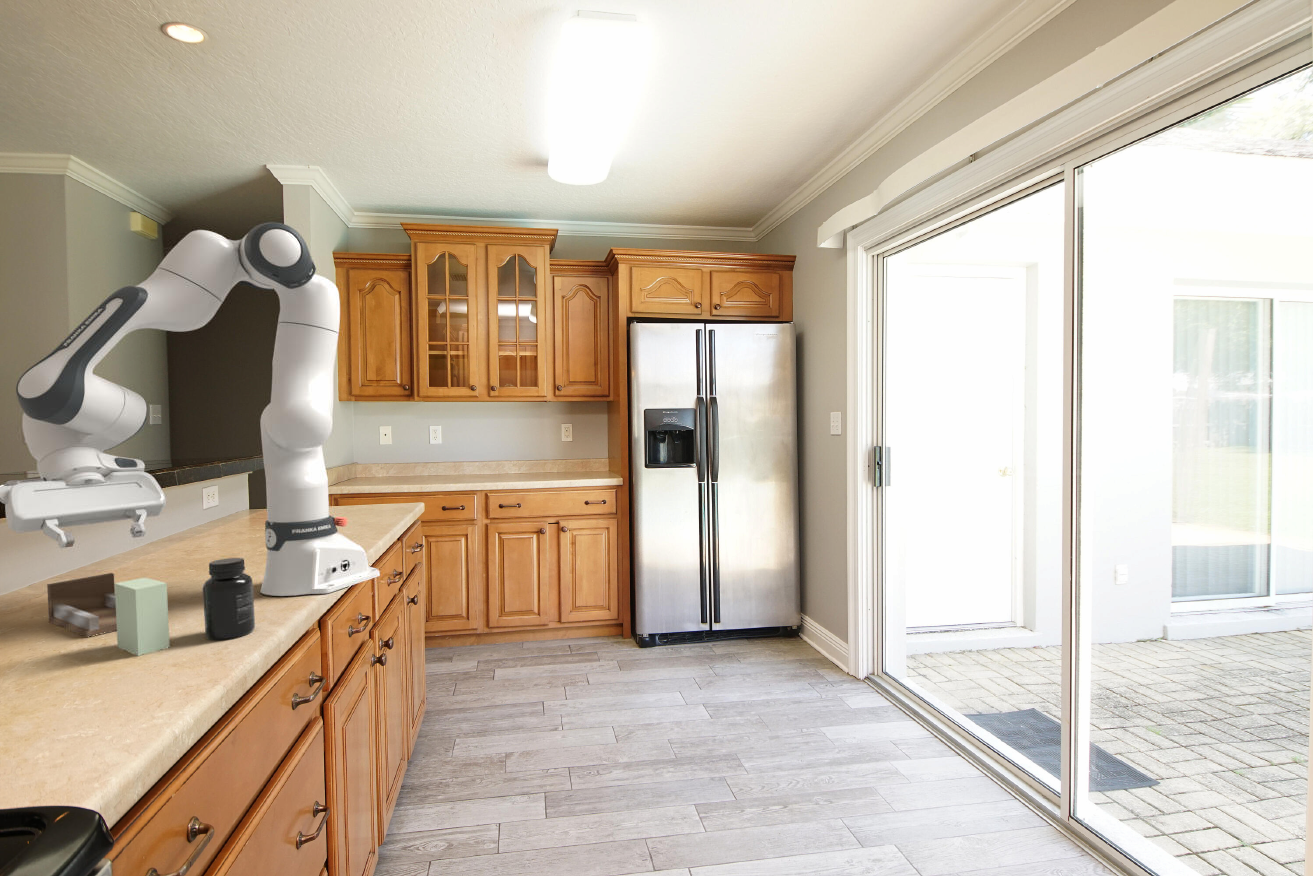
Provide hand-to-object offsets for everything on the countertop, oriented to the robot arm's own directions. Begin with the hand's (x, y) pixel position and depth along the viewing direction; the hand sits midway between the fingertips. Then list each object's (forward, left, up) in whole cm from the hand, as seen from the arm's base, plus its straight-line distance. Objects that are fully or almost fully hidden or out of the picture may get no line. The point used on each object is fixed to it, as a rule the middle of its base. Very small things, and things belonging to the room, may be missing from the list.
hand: (105, 539), depth 106 cm
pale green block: (0, +12, -16) cm, 20 cm away
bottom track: (-2, -9, -15) cm, 18 cm away
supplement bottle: (-10, +17, -16) cm, 25 cm away
